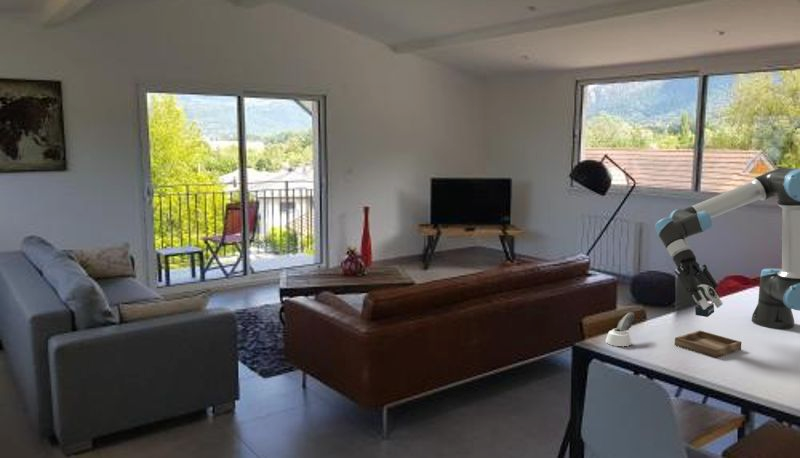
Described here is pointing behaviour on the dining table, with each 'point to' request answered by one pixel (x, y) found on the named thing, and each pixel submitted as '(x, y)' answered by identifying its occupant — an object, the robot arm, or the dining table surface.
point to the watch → (709, 310)
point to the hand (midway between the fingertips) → (713, 306)
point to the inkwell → (621, 332)
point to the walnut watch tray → (708, 344)
